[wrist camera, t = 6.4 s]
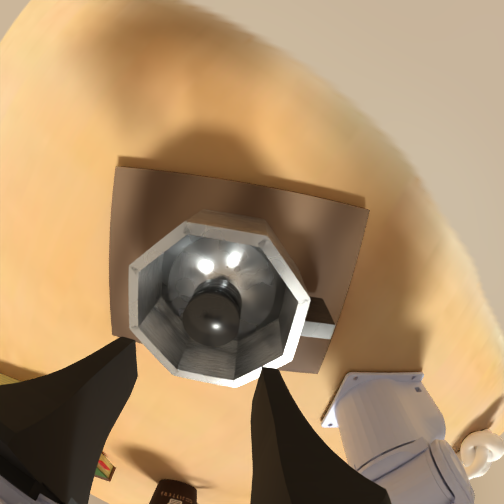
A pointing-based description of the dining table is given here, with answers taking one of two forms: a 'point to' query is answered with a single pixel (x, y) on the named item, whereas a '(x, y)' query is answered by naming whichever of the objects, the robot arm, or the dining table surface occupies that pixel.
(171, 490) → the coffee mug
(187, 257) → the grey knobbed lid
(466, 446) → the white knot ornament
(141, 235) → the serving board
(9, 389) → the robot arm
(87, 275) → the dining table surface
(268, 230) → the silver octagonal piece
